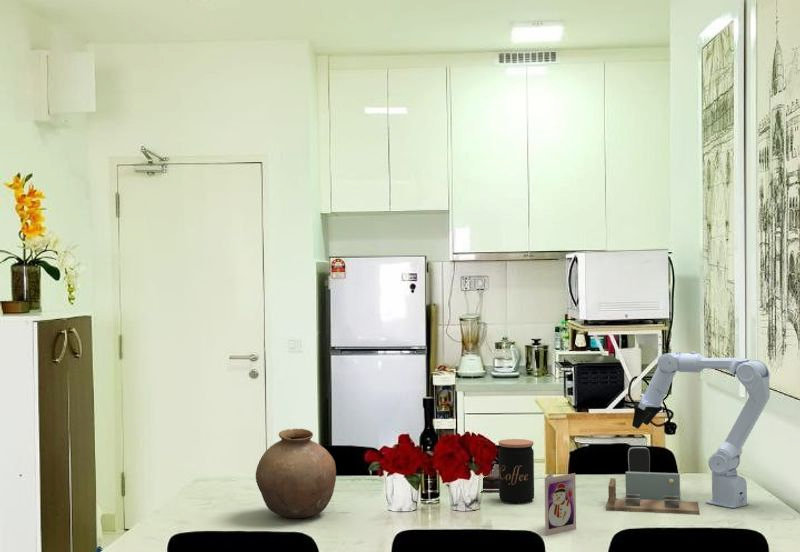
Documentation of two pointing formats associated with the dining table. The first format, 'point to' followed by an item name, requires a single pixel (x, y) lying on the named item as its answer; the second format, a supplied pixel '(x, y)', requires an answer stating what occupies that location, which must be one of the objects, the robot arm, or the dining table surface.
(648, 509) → the hinge rail
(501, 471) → the coffee jar
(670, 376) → the robot arm
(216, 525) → the dining table surface
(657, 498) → the door panel
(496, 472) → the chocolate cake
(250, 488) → the dining table surface
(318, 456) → the pottery
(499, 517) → the dining table surface
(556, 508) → the greeting card
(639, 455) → the battery charger
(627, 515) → the dining table surface
